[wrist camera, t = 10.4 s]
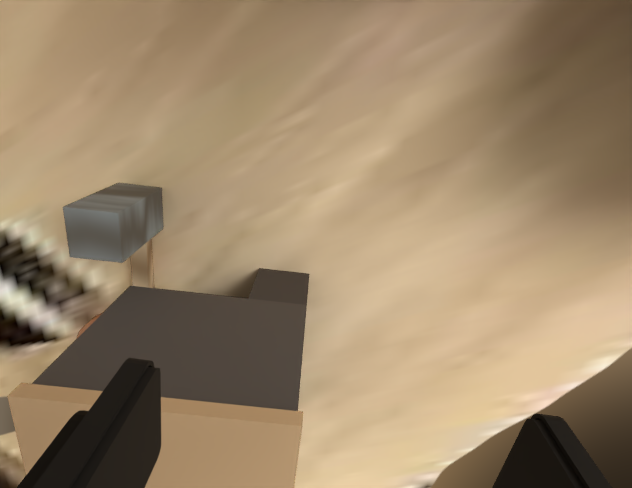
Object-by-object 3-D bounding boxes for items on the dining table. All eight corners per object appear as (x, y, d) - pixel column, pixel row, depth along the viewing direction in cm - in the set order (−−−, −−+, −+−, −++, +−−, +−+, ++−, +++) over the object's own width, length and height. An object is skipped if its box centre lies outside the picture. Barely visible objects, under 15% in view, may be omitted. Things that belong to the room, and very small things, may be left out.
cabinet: (152, 253, 38) (1, 395, 20) (312, 271, 38) (301, 426, 20) (159, 399, 45) (52, 600, 27) (295, 412, 45) (276, 620, 27)
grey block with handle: (118, 182, 35) (62, 207, 28) (161, 187, 35) (118, 213, 28) (134, 380, 44) (95, 439, 36) (169, 383, 44) (137, 443, 36)
